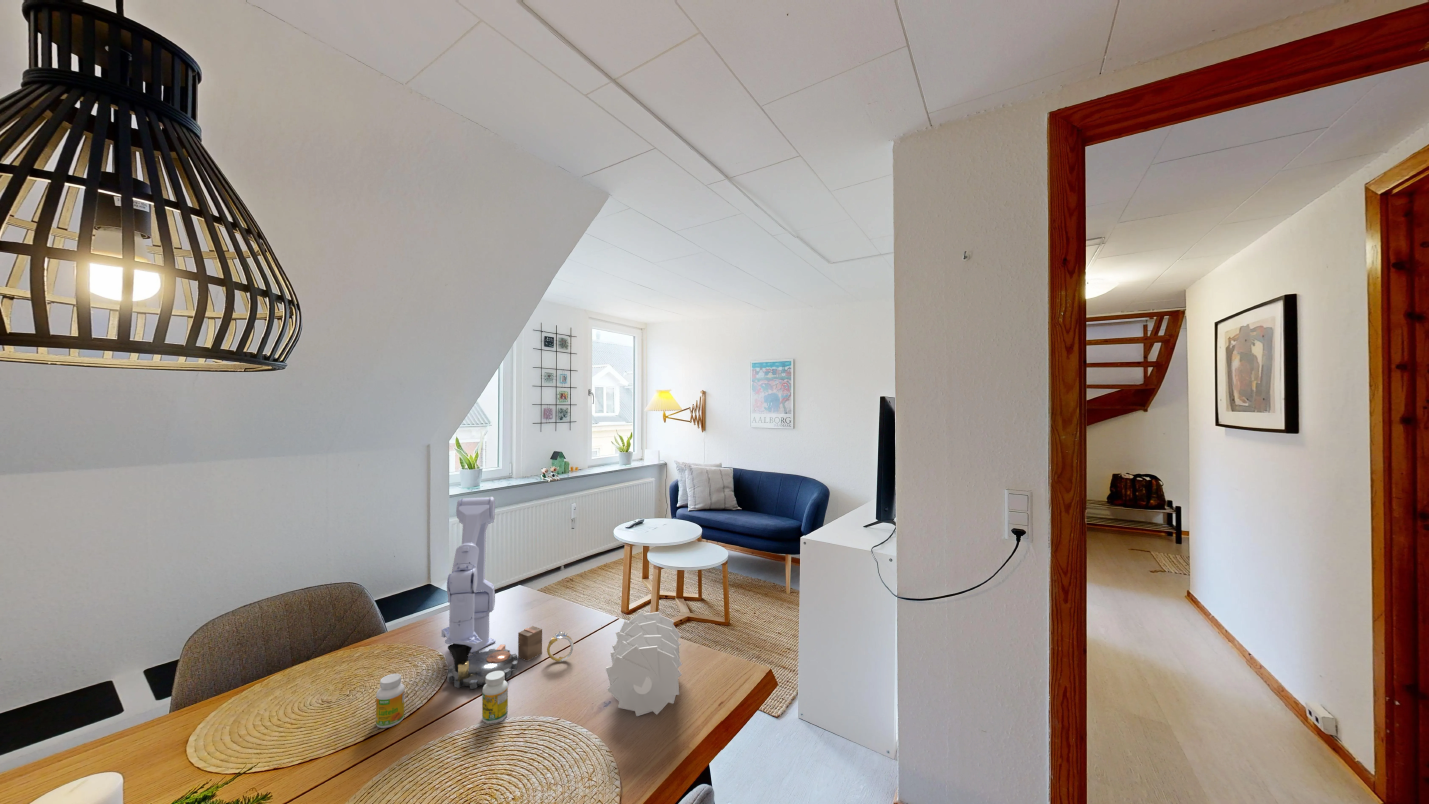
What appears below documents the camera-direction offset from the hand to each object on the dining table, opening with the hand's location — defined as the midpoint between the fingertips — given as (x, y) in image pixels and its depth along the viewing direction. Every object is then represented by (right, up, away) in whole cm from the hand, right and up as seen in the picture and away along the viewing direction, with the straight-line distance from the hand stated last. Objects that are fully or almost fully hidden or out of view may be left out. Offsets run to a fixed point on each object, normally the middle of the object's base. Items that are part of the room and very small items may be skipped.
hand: (461, 670), depth 127 cm
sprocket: (+4, -3, +5) cm, 7 cm away
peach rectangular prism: (+4, -4, +15) cm, 16 cm away
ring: (+22, -4, +12) cm, 25 cm away
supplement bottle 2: (+15, -4, -13) cm, 20 cm away
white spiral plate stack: (+48, -4, -3) cm, 48 cm away
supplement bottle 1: (-8, -4, -15) cm, 17 cm away
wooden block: (+12, -4, +15) cm, 20 cm away
